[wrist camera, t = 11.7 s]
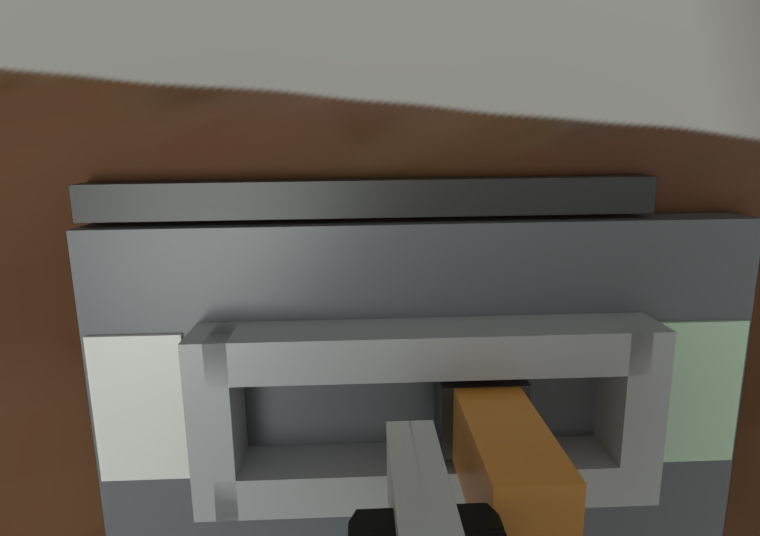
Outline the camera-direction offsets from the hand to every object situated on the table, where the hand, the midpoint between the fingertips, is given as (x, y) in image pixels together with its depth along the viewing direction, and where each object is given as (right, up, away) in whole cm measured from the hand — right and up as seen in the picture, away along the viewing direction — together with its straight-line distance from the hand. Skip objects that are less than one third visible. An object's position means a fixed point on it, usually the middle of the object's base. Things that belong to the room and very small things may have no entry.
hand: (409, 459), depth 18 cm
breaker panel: (+1, 0, +7) cm, 7 cm away
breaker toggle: (+3, +1, +4) cm, 5 cm away
